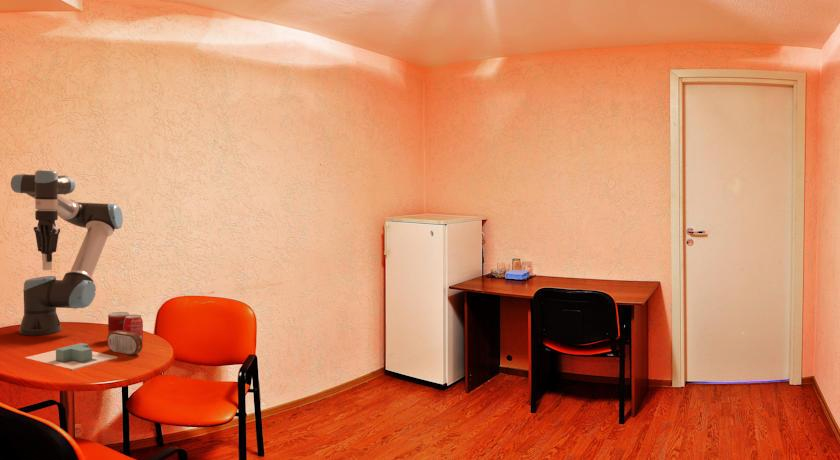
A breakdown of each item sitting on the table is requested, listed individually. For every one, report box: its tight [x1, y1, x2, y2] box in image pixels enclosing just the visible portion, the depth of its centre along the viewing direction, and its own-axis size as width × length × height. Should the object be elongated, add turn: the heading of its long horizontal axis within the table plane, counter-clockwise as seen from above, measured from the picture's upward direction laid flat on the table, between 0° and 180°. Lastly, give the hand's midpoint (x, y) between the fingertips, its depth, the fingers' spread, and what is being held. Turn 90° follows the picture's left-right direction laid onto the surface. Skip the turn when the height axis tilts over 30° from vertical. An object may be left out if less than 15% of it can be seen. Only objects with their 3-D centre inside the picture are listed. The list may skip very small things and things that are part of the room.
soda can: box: [123, 314, 144, 343], centre depth 248 cm, size 7×7×12 cm
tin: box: [106, 330, 143, 356], centre depth 238 cm, size 15×3×8 cm, turn 71°
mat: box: [24, 349, 118, 371], centre depth 229 cm, size 18×26×1 cm
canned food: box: [107, 311, 130, 336], centre depth 256 cm, size 8×8×11 cm
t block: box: [55, 342, 93, 362], centre depth 227 cm, size 10×10×4 cm
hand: (47, 269), depth 246 cm, fingers closed
